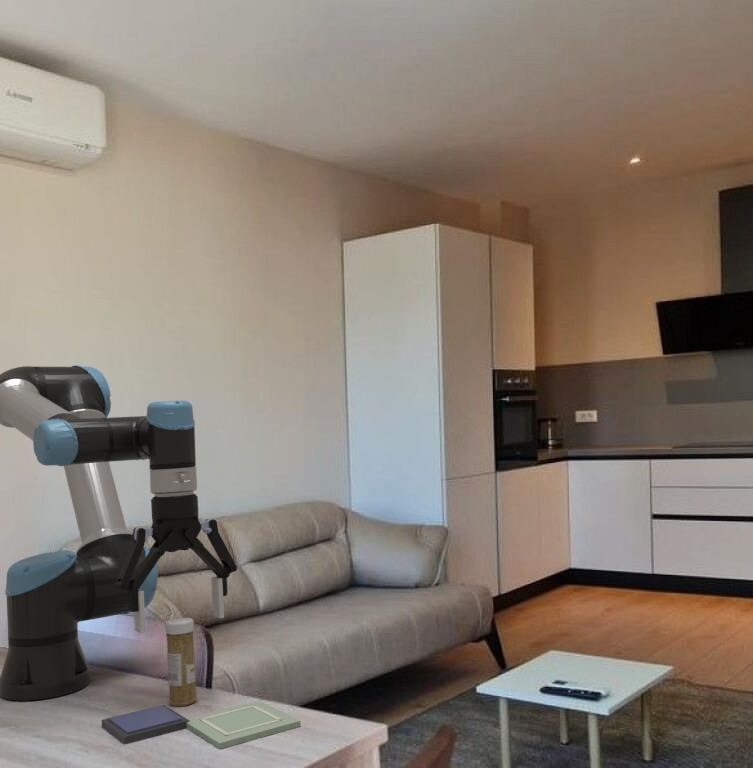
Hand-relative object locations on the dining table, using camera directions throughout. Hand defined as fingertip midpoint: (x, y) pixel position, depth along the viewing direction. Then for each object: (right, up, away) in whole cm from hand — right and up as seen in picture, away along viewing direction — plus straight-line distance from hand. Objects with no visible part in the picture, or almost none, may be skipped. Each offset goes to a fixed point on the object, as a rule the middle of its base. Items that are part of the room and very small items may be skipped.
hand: (180, 624), depth 144 cm
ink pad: (-3, -13, -11) cm, 17 cm away
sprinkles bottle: (0, -13, 0) cm, 13 cm away
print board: (+12, -12, -13) cm, 21 cm away
